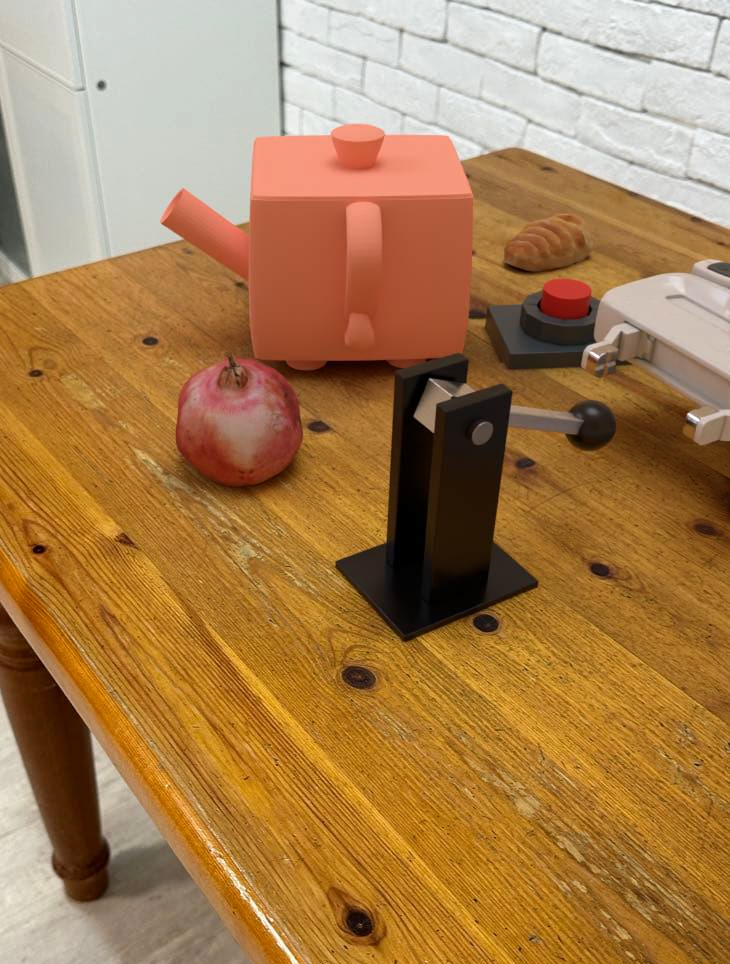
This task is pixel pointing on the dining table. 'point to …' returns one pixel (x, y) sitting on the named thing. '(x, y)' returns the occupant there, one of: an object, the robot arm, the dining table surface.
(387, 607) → the bracket
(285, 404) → the fruit
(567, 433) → the tap lever
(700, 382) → the robot arm
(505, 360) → the button box
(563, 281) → the red push button
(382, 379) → the dining table surface
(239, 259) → the teapot
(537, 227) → the pastry
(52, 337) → the dining table surface
